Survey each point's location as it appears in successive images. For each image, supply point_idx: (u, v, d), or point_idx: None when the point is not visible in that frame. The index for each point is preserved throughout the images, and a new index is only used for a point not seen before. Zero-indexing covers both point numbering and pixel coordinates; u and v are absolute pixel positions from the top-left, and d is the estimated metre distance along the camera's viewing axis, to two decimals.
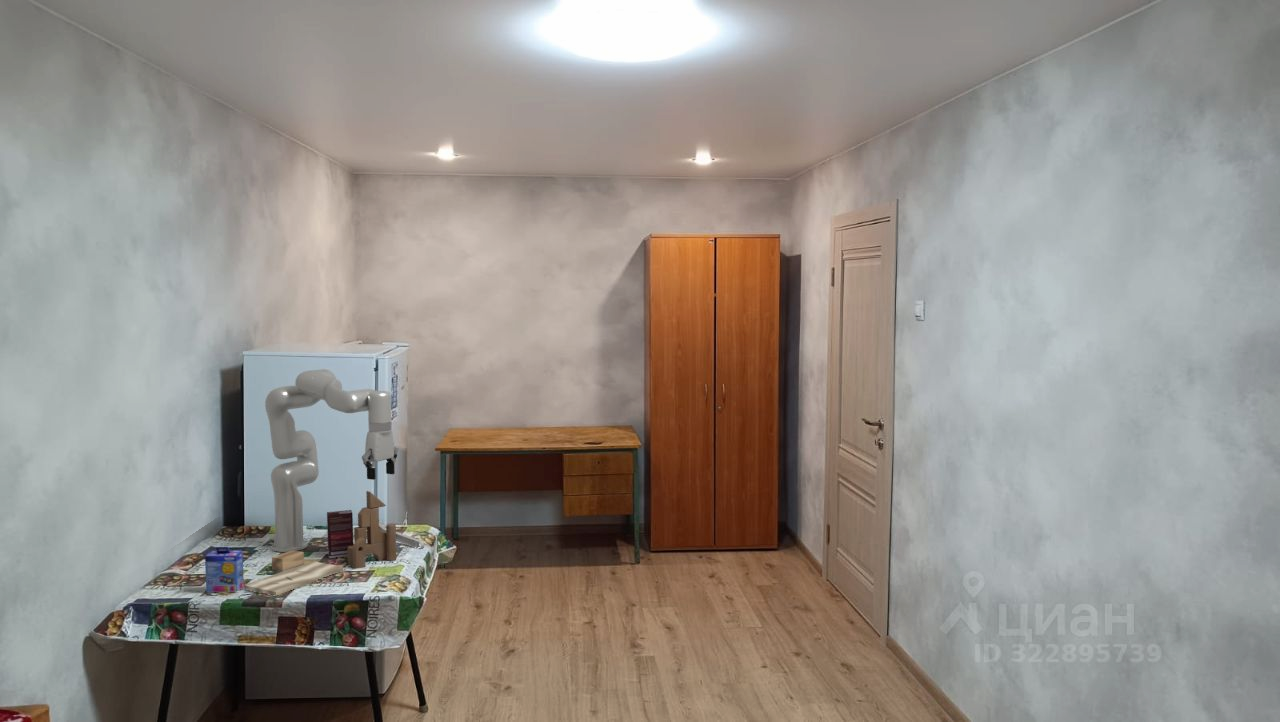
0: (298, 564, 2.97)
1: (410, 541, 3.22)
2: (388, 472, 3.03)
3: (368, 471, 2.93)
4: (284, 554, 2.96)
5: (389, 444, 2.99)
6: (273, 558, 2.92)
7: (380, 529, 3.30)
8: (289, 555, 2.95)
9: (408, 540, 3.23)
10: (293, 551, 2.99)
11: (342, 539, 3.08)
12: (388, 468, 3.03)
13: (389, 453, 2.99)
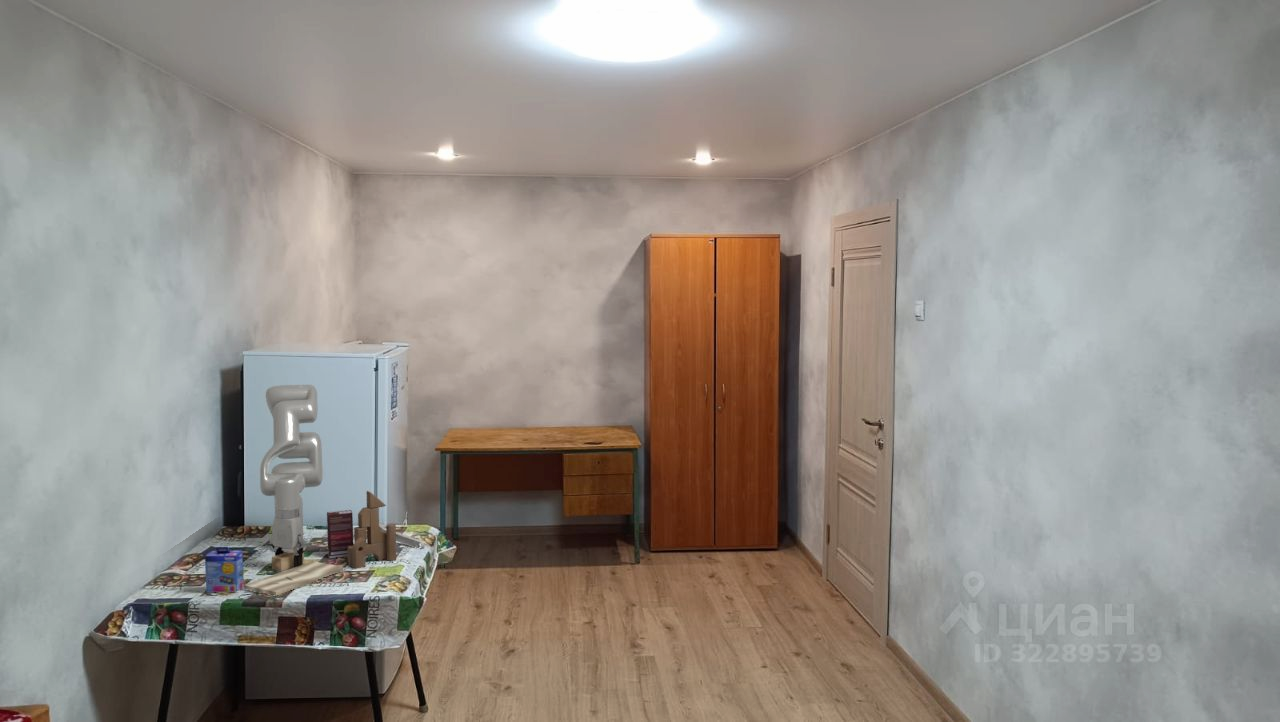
0: None
1: (410, 541, 3.22)
2: None
3: (299, 558, 2.93)
4: (284, 554, 2.96)
5: None
6: (273, 558, 2.93)
7: (380, 529, 3.29)
8: (289, 555, 2.95)
9: (408, 540, 3.22)
10: None
11: (342, 539, 3.08)
12: None
13: None
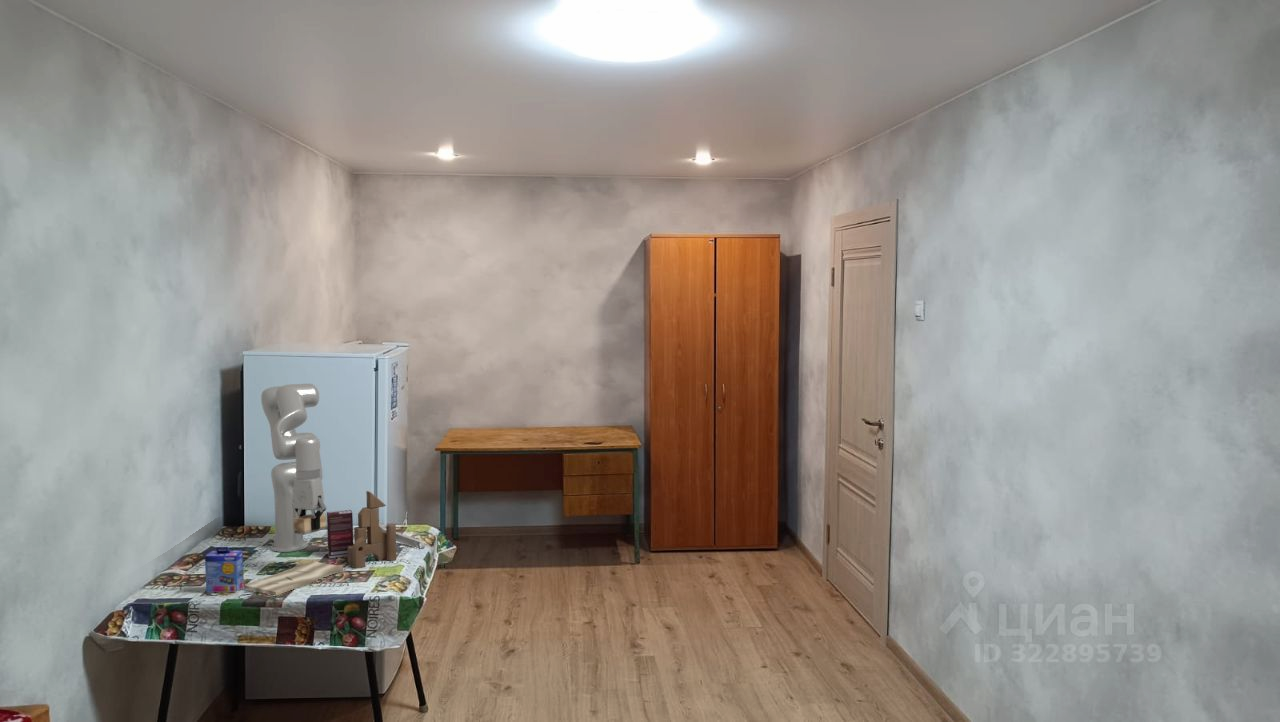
0: (320, 526, 2.92)
1: (410, 541, 3.22)
2: None
3: (317, 521, 2.89)
4: (306, 516, 2.91)
5: None
6: (295, 519, 2.88)
7: (380, 529, 3.29)
8: (311, 516, 2.90)
9: (408, 540, 3.22)
10: None
11: (342, 539, 3.08)
12: None
13: None
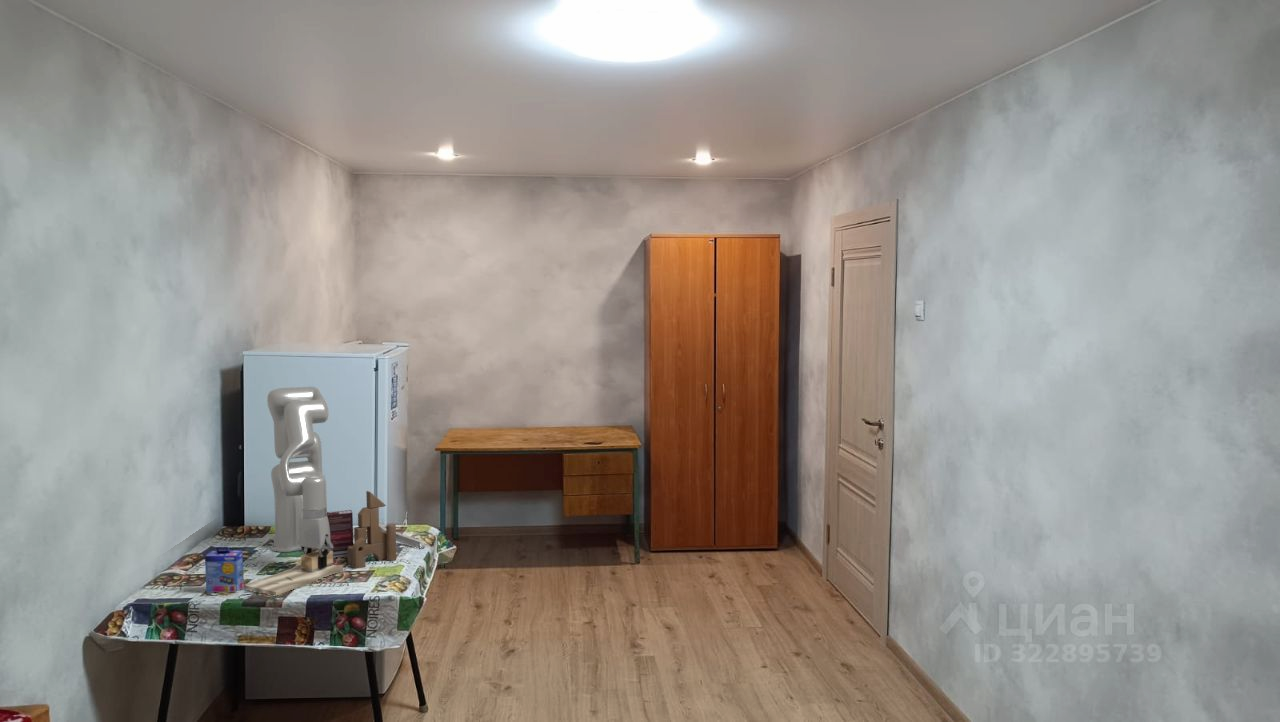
0: (327, 563, 2.93)
1: (411, 541, 3.22)
2: None
3: (324, 560, 2.89)
4: (313, 553, 2.92)
5: None
6: (302, 557, 2.88)
7: (380, 529, 3.29)
8: (318, 554, 2.90)
9: (409, 540, 3.22)
10: (322, 550, 2.95)
11: (342, 539, 3.08)
12: None
13: None
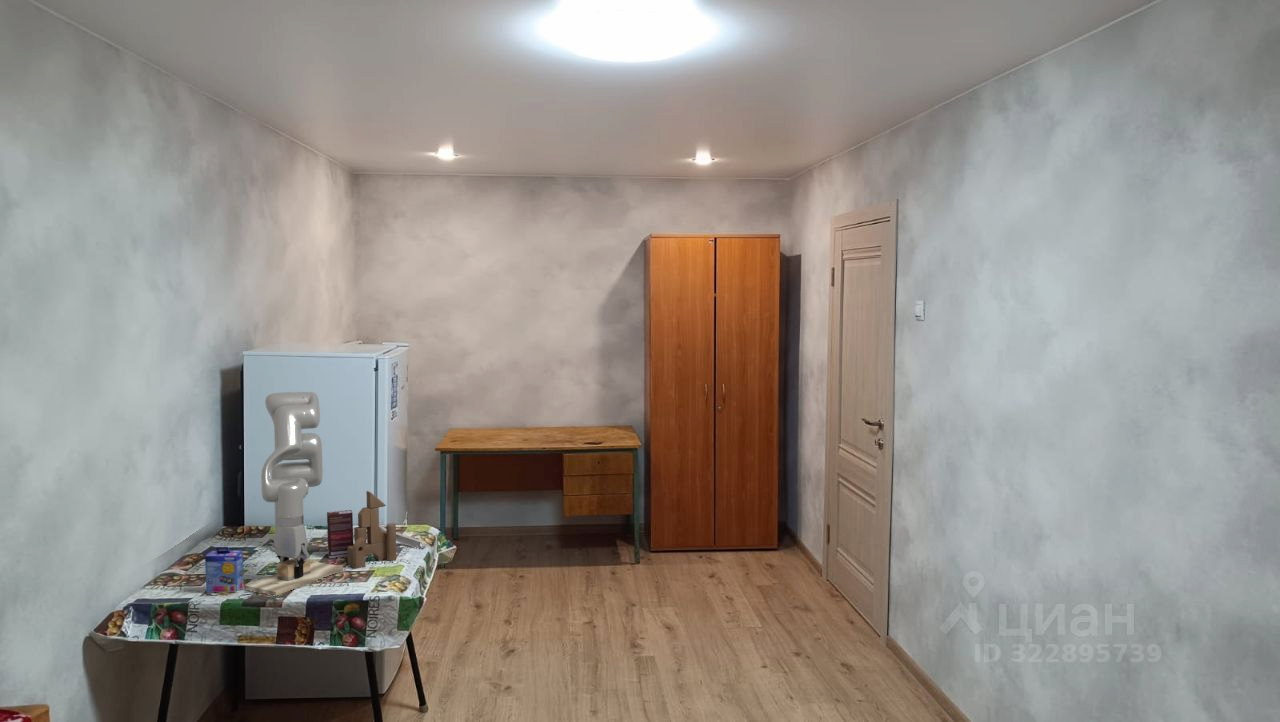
0: (304, 571, 2.84)
1: (411, 541, 3.22)
2: None
3: (300, 569, 2.81)
4: (290, 560, 2.83)
5: None
6: (278, 565, 2.80)
7: None
8: None
9: (409, 540, 3.22)
10: None
11: (342, 539, 3.08)
12: None
13: None
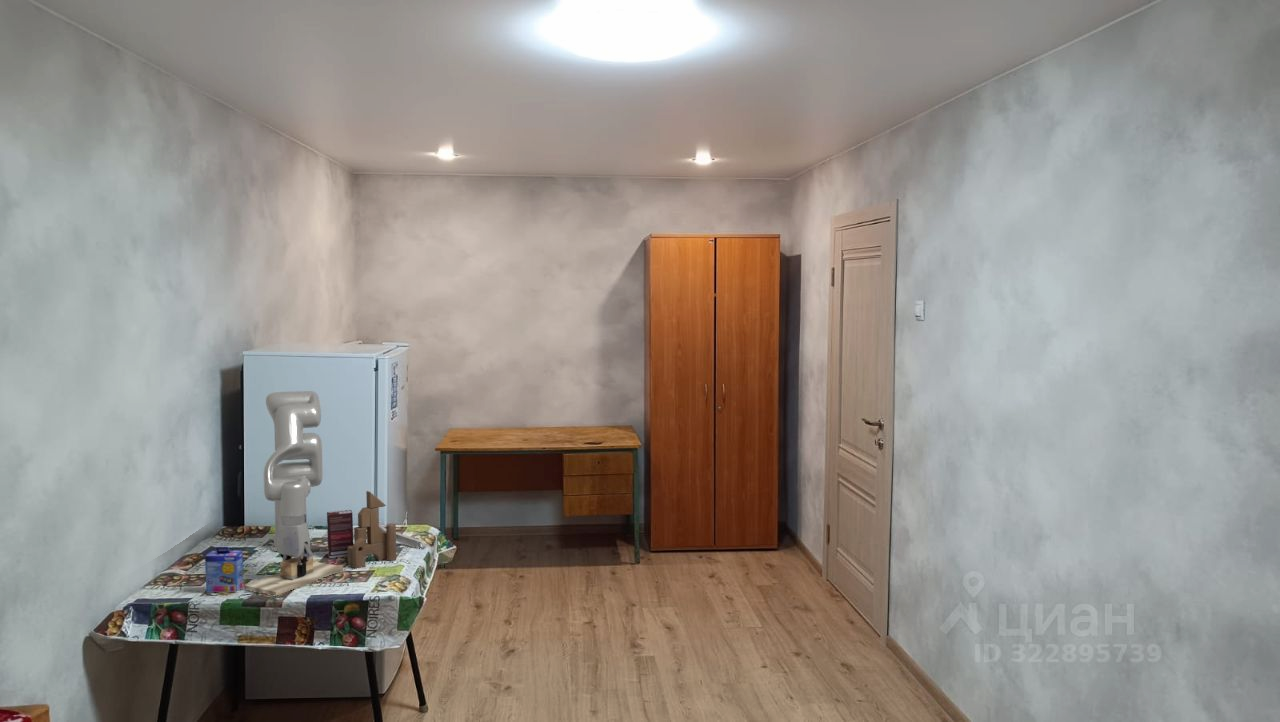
0: (307, 569, 2.85)
1: (411, 541, 3.21)
2: None
3: (303, 568, 2.81)
4: (293, 559, 2.84)
5: None
6: (281, 563, 2.81)
7: None
8: None
9: (409, 540, 3.22)
10: (302, 556, 2.87)
11: (342, 539, 3.09)
12: None
13: None
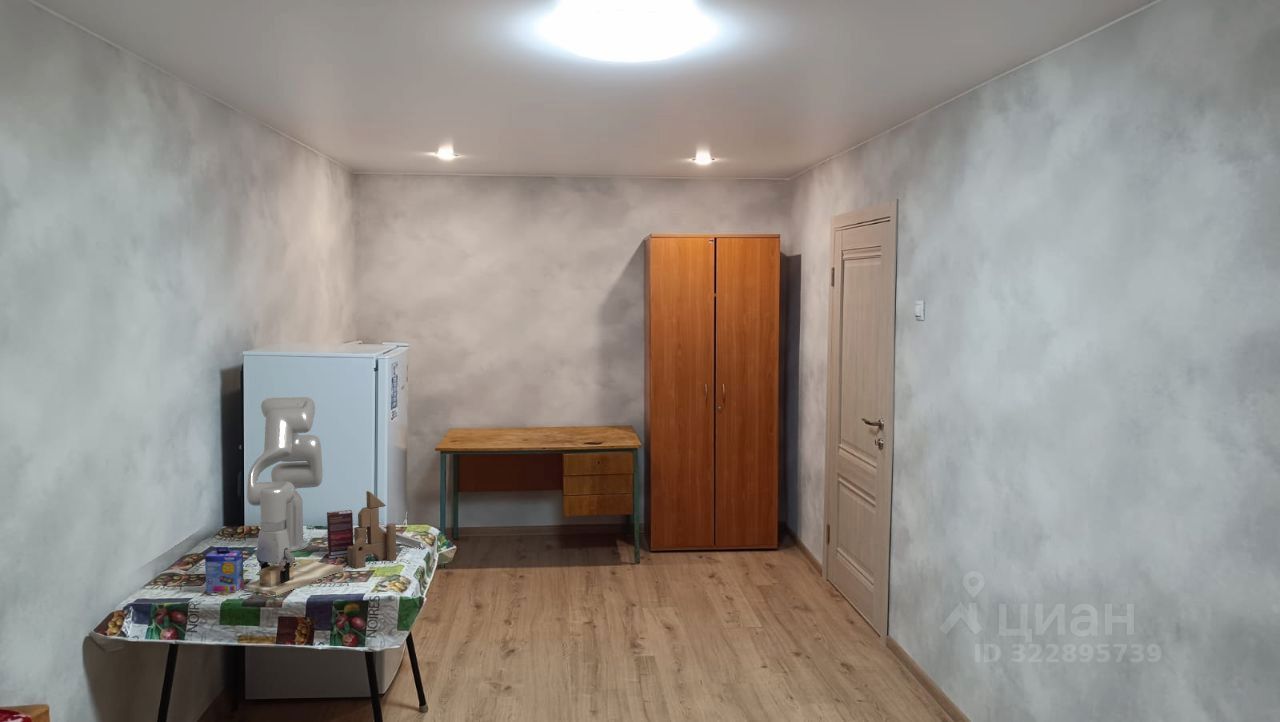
0: None
1: (411, 542, 3.21)
2: None
3: (286, 573, 2.74)
4: (272, 566, 2.77)
5: None
6: (261, 571, 2.73)
7: None
8: (278, 567, 2.76)
9: (409, 541, 3.22)
10: None
11: (342, 539, 3.08)
12: None
13: None
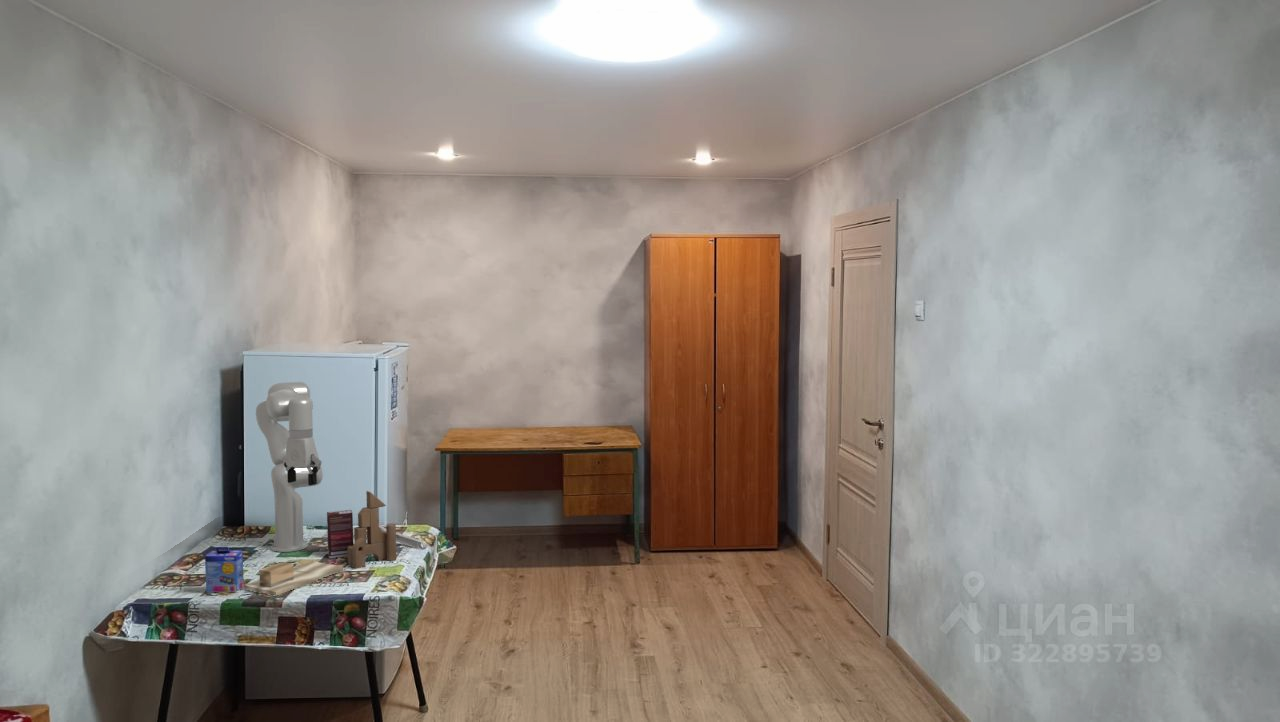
0: (287, 577, 2.78)
1: (412, 542, 3.21)
2: (291, 480, 3.00)
3: (313, 477, 2.96)
4: (272, 566, 2.77)
5: None
6: (261, 571, 2.73)
7: None
8: (278, 567, 2.76)
9: (410, 541, 3.22)
10: (282, 563, 2.80)
11: (342, 539, 3.08)
12: (291, 476, 3.00)
13: None
